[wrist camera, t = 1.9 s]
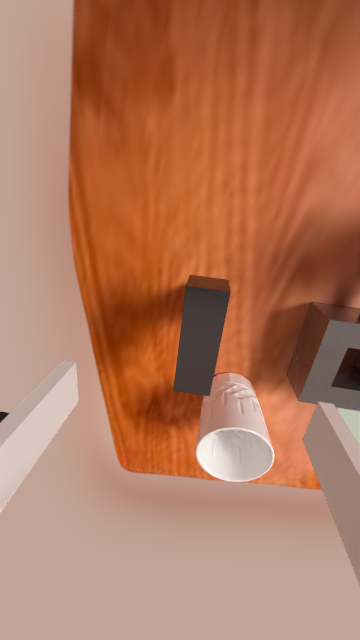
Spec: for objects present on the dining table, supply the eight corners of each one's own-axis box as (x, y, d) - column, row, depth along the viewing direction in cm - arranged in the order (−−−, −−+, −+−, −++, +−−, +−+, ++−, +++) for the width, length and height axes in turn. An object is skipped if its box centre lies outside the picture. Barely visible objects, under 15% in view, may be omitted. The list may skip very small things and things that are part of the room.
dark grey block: (197, 255, 28) (186, 285, 17) (224, 258, 28) (230, 291, 17) (187, 327, 32) (173, 390, 21) (211, 331, 32) (209, 396, 21)
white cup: (234, 357, 33) (242, 415, 24) (270, 396, 35) (290, 464, 25) (188, 387, 36) (180, 449, 26) (224, 422, 37) (227, 491, 28)
